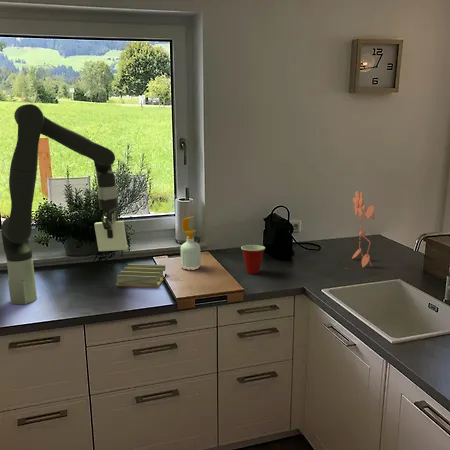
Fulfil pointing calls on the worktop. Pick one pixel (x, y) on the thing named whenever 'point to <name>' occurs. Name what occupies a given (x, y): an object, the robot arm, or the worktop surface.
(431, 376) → the worktop surface
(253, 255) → the plastic cup
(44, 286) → the worktop surface
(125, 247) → the pale green flat slab
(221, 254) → the worktop surface
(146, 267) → the dish rack
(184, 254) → the soap bottle
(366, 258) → the figurine
